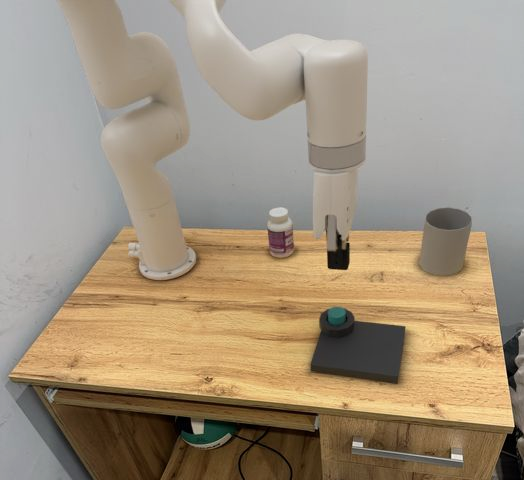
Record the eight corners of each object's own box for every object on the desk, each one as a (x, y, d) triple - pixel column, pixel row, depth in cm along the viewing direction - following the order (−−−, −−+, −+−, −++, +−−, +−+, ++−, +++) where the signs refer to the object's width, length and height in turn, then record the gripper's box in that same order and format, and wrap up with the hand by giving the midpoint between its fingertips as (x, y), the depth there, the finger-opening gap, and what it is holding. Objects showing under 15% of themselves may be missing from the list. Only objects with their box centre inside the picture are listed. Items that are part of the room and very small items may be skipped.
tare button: (326, 324, 86) (326, 316, 84) (329, 313, 88) (329, 305, 86) (343, 326, 85) (344, 318, 84) (347, 315, 87) (347, 307, 86)
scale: (308, 371, 82) (307, 356, 80) (323, 320, 91) (323, 305, 89) (397, 383, 78) (399, 368, 76) (405, 329, 87) (407, 314, 85)
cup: (450, 280, 96) (459, 235, 89) (411, 267, 100) (417, 223, 93) (470, 259, 100) (479, 214, 93) (431, 247, 104) (438, 203, 97)
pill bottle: (292, 259, 107) (289, 218, 100) (268, 258, 108) (263, 218, 101) (296, 245, 110) (293, 205, 104) (272, 244, 111) (268, 205, 105)
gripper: (320, 129, 72) (324, 240, 84) (295, 175, 62) (304, 293, 74) (373, 128, 70) (369, 242, 82) (356, 176, 60) (354, 297, 72)
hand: (338, 266), depth 78 cm, fingers closed
